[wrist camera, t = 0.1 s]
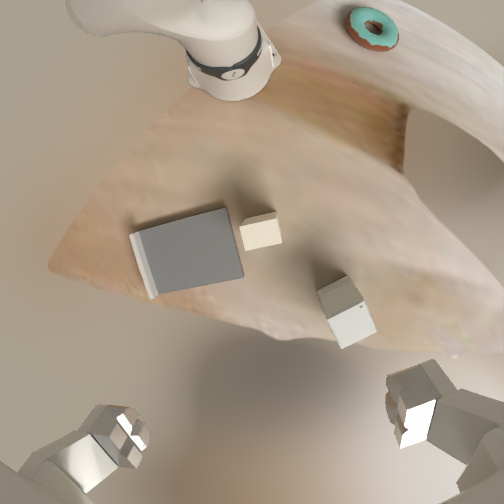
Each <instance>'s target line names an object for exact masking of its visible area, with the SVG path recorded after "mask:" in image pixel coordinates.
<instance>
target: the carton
mask: <svg viewBox="0 0 504 504" xmlns="http://www.w3.org/2000/svg"><path fill="white" fill-rule="evenodd" d="M240 231H241V235H242V239H243V243H244V247H245V251H248V250H252V249H257V248H261V247H266V246H270V245H275V244H280V243H282V237H281V230H280V226H279V221H278V217H277V213H276V212H272V213H267V214H263V215H259V216H254V217H250V218H246V219H245V220H244V221H243V223H242V224H241V225H240Z"/></svg>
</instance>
